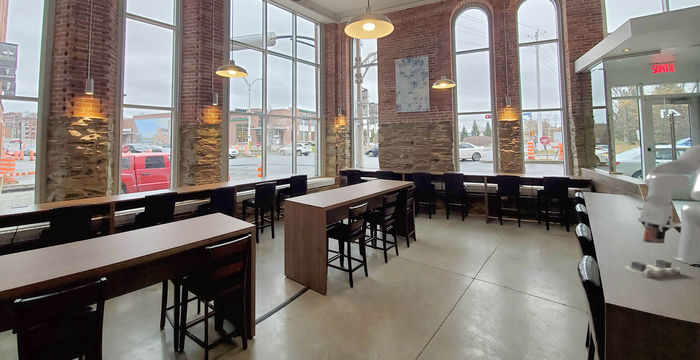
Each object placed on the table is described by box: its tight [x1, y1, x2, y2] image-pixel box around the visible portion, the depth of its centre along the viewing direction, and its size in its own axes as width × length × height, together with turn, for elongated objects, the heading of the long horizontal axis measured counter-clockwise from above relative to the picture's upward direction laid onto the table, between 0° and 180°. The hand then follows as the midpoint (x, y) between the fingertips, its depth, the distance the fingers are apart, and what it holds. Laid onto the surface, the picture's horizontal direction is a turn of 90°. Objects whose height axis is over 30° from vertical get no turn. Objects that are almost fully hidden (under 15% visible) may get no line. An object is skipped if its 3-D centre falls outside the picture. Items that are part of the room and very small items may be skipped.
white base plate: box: [624, 259, 682, 278], centre depth 138 cm, size 20×9×4 cm, turn 99°
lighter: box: [642, 222, 665, 244], centre depth 136 cm, size 8×3×10 cm, turn 78°
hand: (654, 237), depth 137 cm, fingers closed on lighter, 4 cm apart
